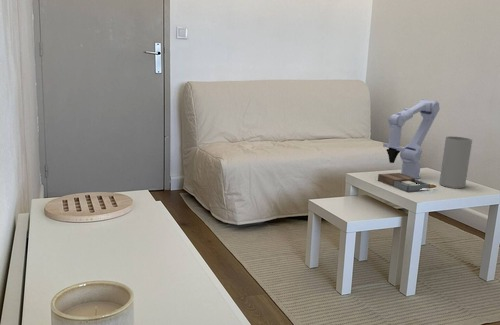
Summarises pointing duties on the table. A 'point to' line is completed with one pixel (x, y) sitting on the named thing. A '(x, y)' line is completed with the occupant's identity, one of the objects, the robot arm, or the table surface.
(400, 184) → the box
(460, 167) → the cylinder vase
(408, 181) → the tile cream
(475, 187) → the table surface
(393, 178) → the bench plate
